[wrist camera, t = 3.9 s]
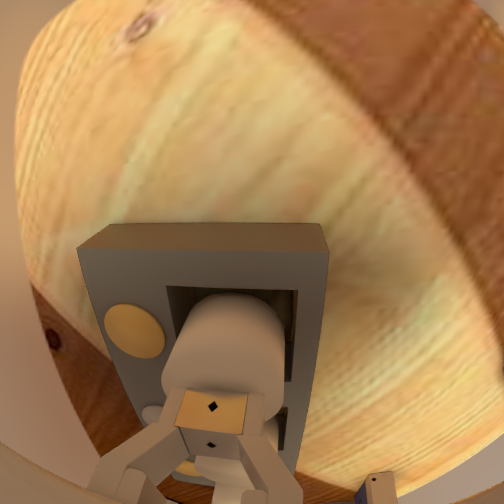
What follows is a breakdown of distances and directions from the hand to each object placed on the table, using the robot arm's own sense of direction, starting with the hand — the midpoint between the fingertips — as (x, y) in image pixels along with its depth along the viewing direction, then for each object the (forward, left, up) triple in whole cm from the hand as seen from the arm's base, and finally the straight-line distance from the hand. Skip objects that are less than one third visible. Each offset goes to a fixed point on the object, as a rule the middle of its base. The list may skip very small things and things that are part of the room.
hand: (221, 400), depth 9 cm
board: (-7, +2, -6) cm, 10 cm away
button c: (0, 0, -4) cm, 4 cm away
